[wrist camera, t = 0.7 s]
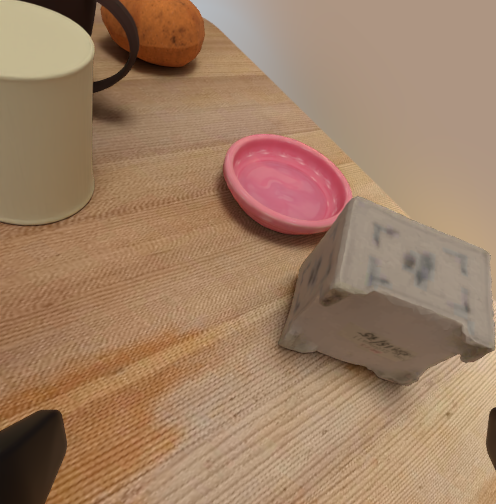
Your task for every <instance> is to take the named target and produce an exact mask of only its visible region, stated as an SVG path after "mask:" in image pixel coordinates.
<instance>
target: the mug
mask: <svg viewBox="0 0 496 504" xmlns="http://www.w3.org/2000/svg"><path fill="white" fill-rule="evenodd" d="M17 1H22V2H27V3H31V4H35V5H38V6H41V7H44V8H47V9H50V10H52V11H55V12H57V13H59V14H61V15H63V16H65V17H67V18H69V19H71V20H72V21H74V22H75V23H77V24H78V25H79V26H81V27H82V28H83V29H84V30H85V31H86V32H87V33H88V34H89V36H90V37H91V33H92V28H93V23H94V16H95V10H96V2H98V3H100V4H101V5H103V6H104V7H105V8H106V9H107V10H108V11H109V12H110V13H111V14H112V15H113V16H114V17H115V18H116V19H117V21H118V22H119V23H120V24H121V26H122V28H123V29H124V31H125V33H126V36H127V39H128V42H129V47H130V56H129V59H128V61H127V63H126V64H125V66H124V67H123V68H122V69H121V70H120V71H119V72H118V73H117V74H115V75H113V76H111V77H109V78H107V79H104V80H101V81H97V82H93V93H95V92H98V91H101V90H104V89H106V88H108V87H110V86H112V85H114V84H115V83H117V82H118V81H119V80H121V79H122V78H123V77H125V76H126V75H127V74H128V73H129V71H130V70H131V68H132V66H133V65H134V62H135V60H136V57H137V54H138V51H139V35H138V30H137V26H136V24H135V21H134V19H133V17H132V16H131V14H130V13H129V11H128V10H127V9H126V7H125V6H124V5H123V4H122V3H121V2H120V1H119V0H17Z"/></svg>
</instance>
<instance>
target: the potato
mask: <svg viewBox="0 0 496 504" xmlns="http://www.w3.org/2000/svg"><path fill="white" fill-rule="evenodd" d="M119 1H120V2H121V3H122V4H123V5H124V6H125V7H126V9H127V10H128V11H129V13H130V14H131V16H132V17H133V19H134V21H135V24H136V26H137V30H138V35H139V51H138V54H137V57H138V58H140V59H142V60H144V61H146V62H149V63H153V64H156V65H162V66H168V67H182V66H184V65H186V64H187V63H189V62H190V61H192V60H193V59H195V58H196V56H197V55H198V53H199V52H200V50H201V47H202V43H203V40H204V36H205V32H204V21H203V19H202V16H201V14H200V12H199V10H198V9H197V8H196V7H195V5H194V4H193V3H192V2H191V1H190V0H119ZM101 15H102V20H103V22H104V24H105V26H106V28H107V30H108V32H109V34H110V35H111V37H112V39H113V40H114V41H115V42H116V43H117V44H118V45H119V46H120V47H122V48H123V49H125V50H126V51H128V52H130V47H129V42H128V39H127V36H126V33H125V31H124V29H123V28H122V26H121V24H120V23H119V22H118V21H117V19H116V18H115V17H114V16H113V15H112V14H111V13H110V12H109V11H108V10H107V9H106V8H105V7H104V6H103V5H102V7H101Z"/></svg>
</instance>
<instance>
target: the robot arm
mask: <svg viewBox="0 0 496 504" xmlns="http://www.w3.org/2000/svg"><path fill="white" fill-rule="evenodd" d="M486 447H487V452H488V455H489V457H490V459H491V461H492V464H493V466H494V468H495V470H496V407H495V408H493V409H492V410H491V411H490V414H489V421H488V429H487V438H486ZM66 449H67V440H66V434H65V429H64V423H63V418H62V414H61V412H60V411H58V410H39V411H37V412H35V413H33V414H31V415H29V416H28V417H26V418H24V419H22V420H20V421H18V422H16V423H14V424H13V425H11V426H9V427H7V428H5V429H3V430H1V431H0V504H45V501H46V499H47V497H48V494H49V492H50V490H51V487H52V485H53V482H54V480H55V478H56V475H57V473H58V470H59V468H60V466H61V463H62V461H63V458H64V456H65V453H66Z"/></svg>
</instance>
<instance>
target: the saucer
mask: <svg viewBox="0 0 496 504" xmlns="http://www.w3.org/2000/svg"><path fill="white" fill-rule="evenodd" d="M223 173H224V178H225V181H226V183H227V186H228V188H229V190H230V192H231V194H232V195H233V197H234V198H235V200H236V201H237V202H238V204H239V206H240V207H241V208H242V209H243V210H244V212H245V213H246V214H247V215H248V216H250V217H251V218H252V219H253V220H255V221H256V222H257V223H259V224H261V225H262V226H264V227H266V228H268V229H271V230H274V231H276V232H280V233H284V234H291V235H301V234H315V233H320V232H325V231H328V230H329V229H330V227H331V226H332V224H333V223H334V221H335V220H336V219H337V217H338V215H339V214H340V213H341V212H342V210H343V209H344V207H345V205H346V204H347V203H348V202H349V201H350V200H351V199H352V192H351V189H350V186H349V184H348V182H347V180H346V178H345V177H344V175H343V174H342V172H341V171H340V170H339V169H338V168H337V167H336V166H335V165H334V164H333V163H332V162H331V161H330V160H329V159H328V158H326V157H325V156H324V155H322V154H321V153H320V152H318V151H316V150H315V149H313V148H311V147H310V146H308V145H306V144H304V143H302V142H299V141H297V140H294V139H291V138H288V137H283V136H278V135H271V134H257V135H251V136H247V137H244V138H242V139H240V140H238V141H236V142H235V143H234V144H233V145H232V146H231V147H230V148H229V150H228V151H227V153H226V156H225V160H224V164H223Z"/></svg>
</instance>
